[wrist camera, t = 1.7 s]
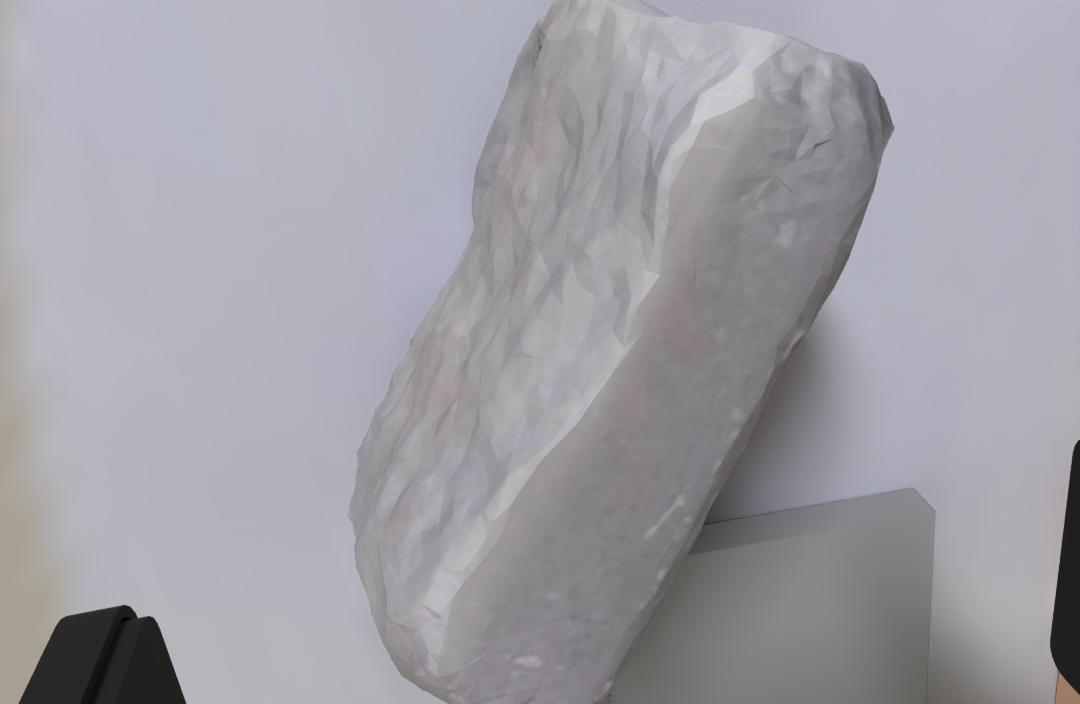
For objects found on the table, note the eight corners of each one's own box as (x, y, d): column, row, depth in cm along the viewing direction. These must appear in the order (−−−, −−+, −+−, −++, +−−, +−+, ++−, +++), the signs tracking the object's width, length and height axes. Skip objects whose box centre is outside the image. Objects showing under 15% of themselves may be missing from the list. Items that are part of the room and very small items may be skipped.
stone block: (524, 484, 25) (592, 797, 16) (347, 424, 23) (308, 727, 14) (745, 46, 21) (1002, 119, 12) (550, -53, 20) (671, -55, 11)
